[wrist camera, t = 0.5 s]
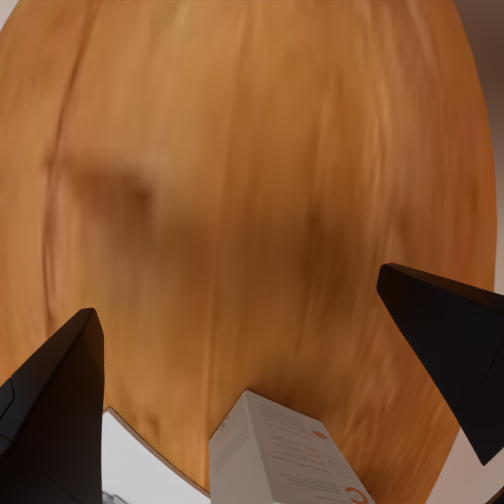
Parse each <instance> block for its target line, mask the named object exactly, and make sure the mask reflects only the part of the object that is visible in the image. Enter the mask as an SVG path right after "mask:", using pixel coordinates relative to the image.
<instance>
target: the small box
mask: <svg viewBox="0 0 504 504" xmlns="http://www.w3.org/2000/svg"><path fill="white" fill-rule="evenodd" d="M209 480H210V499H211V504H375V502H374V501H373V499H372V498H371V496H370V495H369V494H368V492H367V491H366V489H365V488H364V486H363V485H362V483H361V482H360V480H359V479H358V477H357V476H356V474H355V473H354V471H353V470H352V468H351V467H350V465H349V464H348V462H347V461H346V459H345V457H344V456H343V454H342V453H341V451H340V450H339V448H338V447H337V445H336V444H335V442H334V441H333V439H332V438H331V436H330V434H329V433H328V431H327V430H326V428H325V427H324V425H323V423H322V422H321V421H318V420H316V419H313V418H311V417H308V416H306V415H304V414H301V413H299V412H296V411H294V410H291V409H289V408H287V407H284V406H282V405H280V404H277V403H275V402H273V401H271V400H268V399H266V398H264V397H262V396H259V395H257V394H255V393H253V392H251V391H248V390H245V391H244V392H243V394H242V395H241V397H240V398H239V400H238V401H237V402H236V404H235V405H234V407H233V408H232V410H231V411H230V412H229V414H228V415H227V417H226V418H225V419H224V421H223V422H222V424H221V425H220V427H219V428H218V429H217V431H216V432H215V433H214V435H213V436H212V437H211V439H210V440H209Z"/></svg>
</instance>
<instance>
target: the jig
mask: <svg viewBox="0 0 504 504" xmlns="http://www.w3.org/2000/svg"><path fill="white" fill-rule="evenodd" d="M102 493H105V494H107V495H108V496H109V497H110V498H111V497H113V496H116V497H118V498H119V499H120V500H122V501H123V502H124V503H126V504H211V499H210V494H209V493H207V492H206V491H205V490H203V489H202V488H201V487H199V486H198V485H197V484H195V483H194V482H193V481H191V480H190V479H189V478H187V477H186V476H185V475H184V474H182V473H181V472H180V471H179V470H177V469H176V468H175V467H174V466H172V465H171V464H170V463H169V462H168V461H166V460H165V459H164V458H163V457H162V456H161V455H159V454H158V453H157V452H156V451H155V450H154V449H153V448H152V447H150V446H149V445H148V444H147V443H146V442H145V441H144V440H143V439H142V438H141V437H140V436H139V435H138V434H137V433H135V432H134V431H133V430H132V429H131V428H130V427H129V426H128V425H127V424H126V423H125V422H124V421H123V420H122V419H121V418H120V417H119V416H118V415H117V414H116V413H115V411H114V410H113V409H112V408H111V407H110V408H109V409H107V410H106V411H104V412H103V417H102Z"/></svg>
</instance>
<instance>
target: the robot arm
mask: <svg viewBox="0 0 504 504" xmlns="http://www.w3.org/2000/svg"><path fill="white" fill-rule="evenodd" d="M377 292H378V294H379V296H380V297H381V299H382V301H383V303H384V304H385V306H386V308H387V310H388V311H389V313H390V315H391V317H392V318H393V320H394V322H395V324H396V325H397V327H398V328H399V330H400V331H401V333H402V334H403V336H404V337H405V339H406V340H407V342H408V343H409V345H410V346H411V348H412V349H413V351H414V352H415V354H416V355H417V357H418V358H419V360H420V361H421V363H422V364H423V366H424V367H425V369H426V370H427V372H428V373H429V375H430V377H431V378H432V380H433V381H434V383H435V384H436V386H437V388H438V389H439V391H440V392H441V394H442V396H443V397H444V399H445V400H446V402H447V404H448V405H449V407H450V409H451V410H452V412H453V414H454V415H455V417H456V418H457V421H458V423H459V424H460V426H461V428H462V430H463V431H464V433H465V435H466V437H467V438H468V440H469V442H470V443H471V445H472V447H473V449H474V451H475V453H476V455H477V456H478V458H479V460H480V462H481V464H482V465H483V466H485V465H486V464H487V463H488V462H489V461H490V460H492V458H494V457H495V456H496V455H497V454H498V453H499V452H500V451H501V450H502V449H503V448H504V295H500V294H497V293H494V292H490V291H487V290H484V289H479V288H477V287H474V286H471V285H467V284H464V283H461V282H457V281H454V280H451V279H447V278H444V277H441V276H437V275H434V274H430V273H427V272H423V271H420V270H417V269H413V268H410V267H406V266H403V265H399V264H395V263H387V264H383V265H382V266H381V268H380V272H379V277H378V282H377ZM104 384H105V377H104V334H103V330H102V327H101V324H100V321H99V318H98V315H97V312H96V310H95V309H94V308H84V309H80V310H79V311H78V312H77V313H76V314H75V315H74V316H73V317H72V318H70V319H69V320H68V321H67V322H66V323H65V324H64V325H63V326H62V327H61V328H60V329H59V330H58V331H56V332H55V333H54V334H53V335H52V336H51V337H50V338H49V339H48V340H47V341H46V342H45V343H44V344H43V345H42V346H41V347H40V348H39V349H38V350H37V351H36V352H34V353H33V354H32V355H31V356H30V357H29V358H28V359H27V360H26V361H25V362H24V363H23V364H22V365H21V366H20V367H19V368H18V369H17V370H16V371H15V372H14V373H13V374H12V375H11V378H8V379H7V381H6V382H5V383H4V384H3V385H2V386H1V387H0V504H103V497H102V417H103V400H104ZM485 504H504V486H503V487H502V488H501V489H500V490H499V491H498V492H497V493H496V494H495V495H494V496H493V497H492V498H491V499H490V500H489V501H488V502H486V503H485Z"/></svg>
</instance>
